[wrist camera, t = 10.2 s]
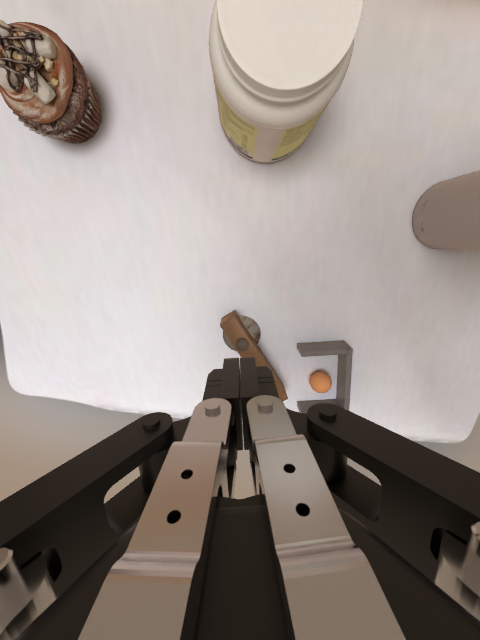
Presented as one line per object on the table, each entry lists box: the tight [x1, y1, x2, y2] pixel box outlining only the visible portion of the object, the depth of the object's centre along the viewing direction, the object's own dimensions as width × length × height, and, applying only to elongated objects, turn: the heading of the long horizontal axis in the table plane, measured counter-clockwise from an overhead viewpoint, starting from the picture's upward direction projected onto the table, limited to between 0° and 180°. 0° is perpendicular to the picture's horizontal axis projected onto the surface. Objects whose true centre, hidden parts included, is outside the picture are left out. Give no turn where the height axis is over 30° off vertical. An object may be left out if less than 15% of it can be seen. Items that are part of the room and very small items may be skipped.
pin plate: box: [223, 316, 260, 351], centre depth 43 cm, size 6×6×1 cm
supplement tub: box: [209, 0, 363, 162], centre depth 27 cm, size 12×12×17 cm
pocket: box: [297, 341, 353, 414], centre depth 44 cm, size 8×12×4 cm, turn 4°
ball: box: [310, 372, 332, 393], centre depth 44 cm, size 3×3×3 cm
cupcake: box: [0, 20, 101, 143], centre depth 30 cm, size 10×10×10 cm
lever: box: [220, 310, 288, 402], centre depth 42 cm, size 2×16×5 cm, turn 32°
